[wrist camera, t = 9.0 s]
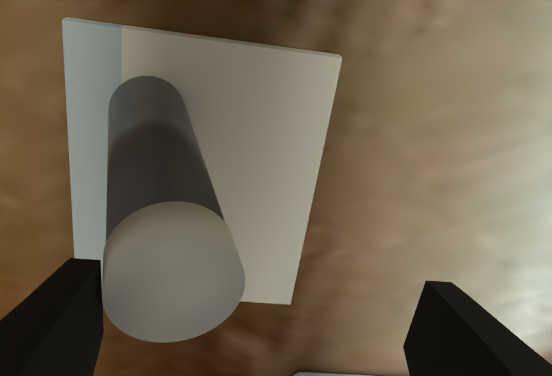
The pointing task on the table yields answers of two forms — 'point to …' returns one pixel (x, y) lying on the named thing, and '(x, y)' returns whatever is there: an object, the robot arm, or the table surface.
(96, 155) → the notepad
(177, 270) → the cylinder
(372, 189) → the table surface
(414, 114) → the table surface
